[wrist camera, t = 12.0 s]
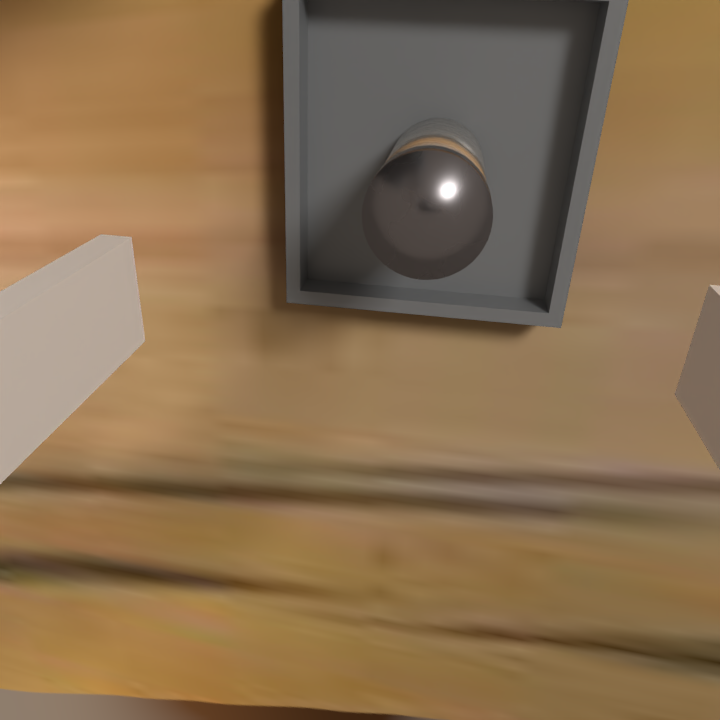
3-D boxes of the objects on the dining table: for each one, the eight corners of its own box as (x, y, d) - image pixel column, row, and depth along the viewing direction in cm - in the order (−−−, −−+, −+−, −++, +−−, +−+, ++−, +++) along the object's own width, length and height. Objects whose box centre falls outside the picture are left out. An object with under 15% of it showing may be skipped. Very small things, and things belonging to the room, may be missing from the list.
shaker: (392, 112, 33) (365, 145, 24) (492, 119, 33) (503, 156, 24) (384, 210, 36) (358, 273, 27) (478, 219, 35) (482, 286, 26)
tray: (294, -28, 31) (281, -32, 29) (619, -16, 30) (632, -20, 27) (296, 286, 39) (286, 302, 37) (554, 309, 37) (560, 327, 35)
